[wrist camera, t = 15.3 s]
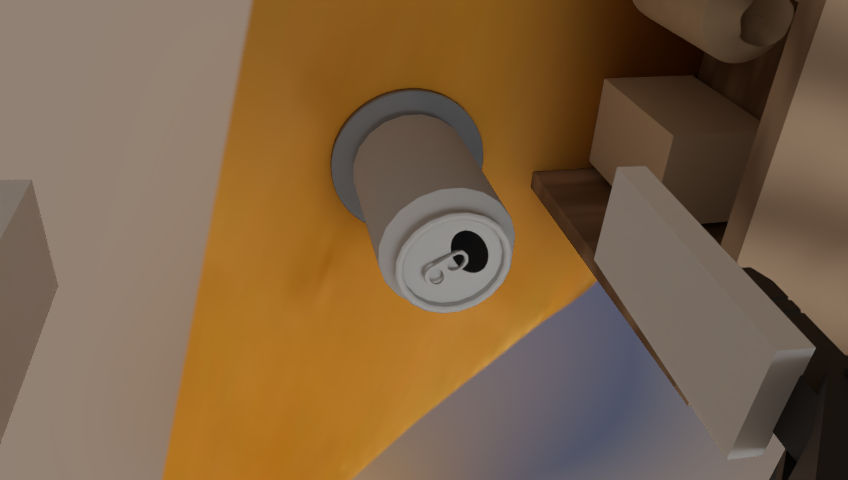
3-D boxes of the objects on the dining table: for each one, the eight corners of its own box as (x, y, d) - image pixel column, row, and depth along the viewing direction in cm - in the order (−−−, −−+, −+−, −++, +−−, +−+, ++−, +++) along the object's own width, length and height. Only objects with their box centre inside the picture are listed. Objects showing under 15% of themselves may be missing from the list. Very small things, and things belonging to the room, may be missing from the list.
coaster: (328, 91, 44) (329, 95, 43) (487, 85, 46) (490, 89, 45) (332, 231, 49) (333, 236, 48) (473, 220, 51) (476, 225, 51)
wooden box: (574, -116, 40) (835, -27, 23) (764, -112, 43) (1127, -28, 26) (530, 187, 51) (688, 406, 33) (685, 176, 53) (906, 374, 36)
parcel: (604, 78, 47) (673, 135, 40) (692, 75, 49) (774, 130, 41) (588, 160, 51) (650, 228, 43) (671, 155, 52) (744, 220, 45)
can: (481, 179, 49) (544, 284, 39) (382, 231, 49) (421, 346, 39) (436, 87, 44) (495, 178, 35) (329, 144, 45) (357, 250, 35)
